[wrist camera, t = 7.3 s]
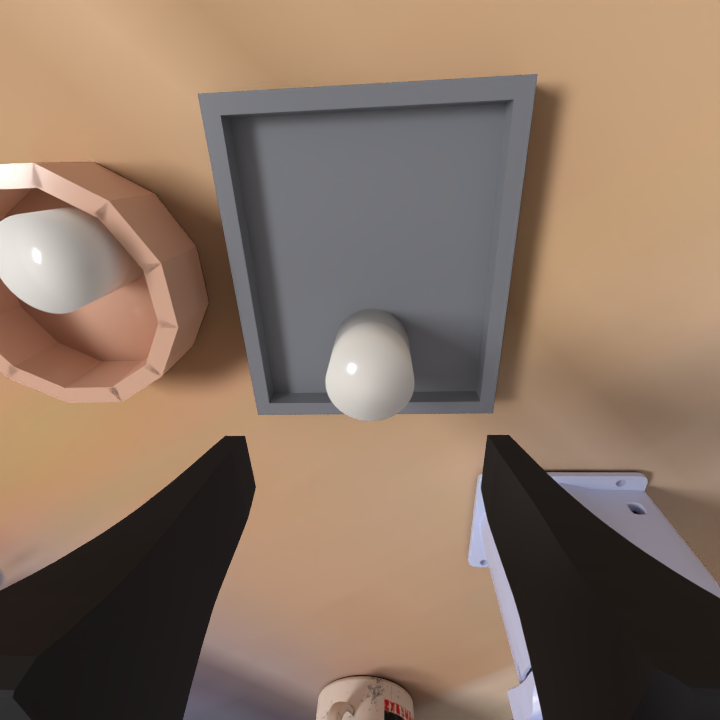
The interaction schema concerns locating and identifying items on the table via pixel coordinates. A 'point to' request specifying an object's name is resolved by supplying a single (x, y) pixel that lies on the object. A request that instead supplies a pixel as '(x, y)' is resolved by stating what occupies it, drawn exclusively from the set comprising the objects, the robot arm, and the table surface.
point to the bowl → (112, 312)
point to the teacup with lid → (364, 700)
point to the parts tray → (372, 227)
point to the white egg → (62, 259)
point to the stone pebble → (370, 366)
